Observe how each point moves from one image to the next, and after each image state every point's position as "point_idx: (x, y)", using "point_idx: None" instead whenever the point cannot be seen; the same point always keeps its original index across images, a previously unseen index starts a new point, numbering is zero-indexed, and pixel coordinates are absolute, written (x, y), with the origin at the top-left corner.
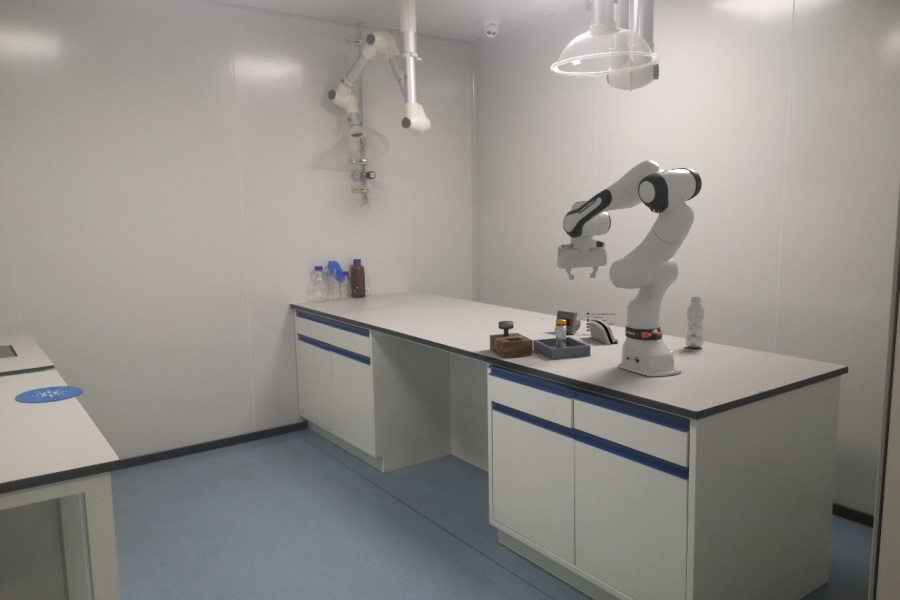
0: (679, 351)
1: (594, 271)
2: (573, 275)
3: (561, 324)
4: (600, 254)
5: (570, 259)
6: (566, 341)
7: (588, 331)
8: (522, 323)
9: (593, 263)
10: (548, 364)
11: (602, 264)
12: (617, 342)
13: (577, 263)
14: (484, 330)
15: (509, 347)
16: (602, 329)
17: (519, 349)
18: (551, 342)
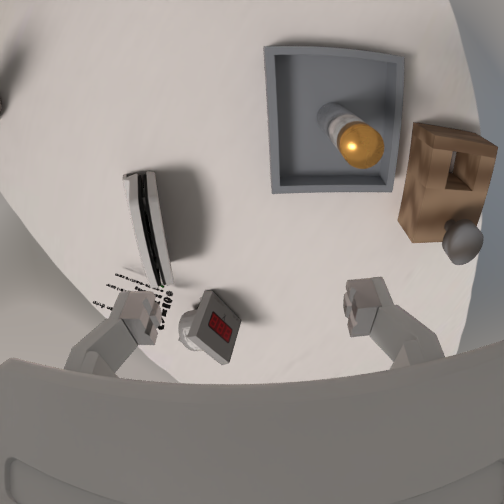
0: (24, 68)
1: (112, 342)
2: (363, 304)
3: (366, 124)
4: (6, 472)
5: (472, 454)
6: (285, 180)
7: (169, 291)
8: (269, 379)
9: (97, 407)
10: (417, 20)
11: (20, 371)
12: (125, 175)
13: (358, 426)
14: (360, 355)
15: (478, 139)
16: (154, 198)
17: (454, 132)
18: (336, 180)
